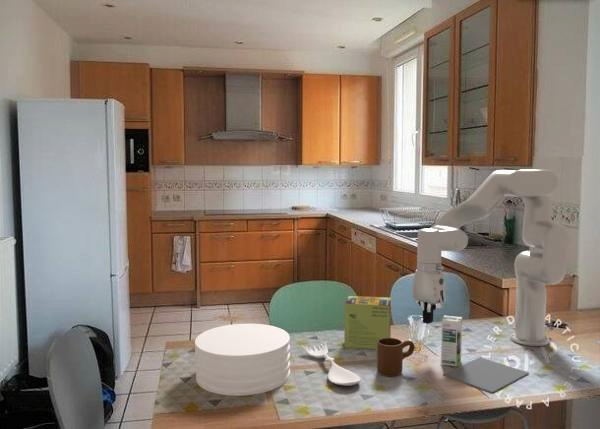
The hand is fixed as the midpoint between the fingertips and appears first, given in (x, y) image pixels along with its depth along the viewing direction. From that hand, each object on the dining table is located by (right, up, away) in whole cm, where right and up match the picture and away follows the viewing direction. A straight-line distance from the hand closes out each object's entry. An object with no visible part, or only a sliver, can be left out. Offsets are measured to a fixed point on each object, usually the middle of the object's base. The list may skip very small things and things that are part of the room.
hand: (427, 322), depth 170 cm
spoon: (-32, -13, -9) cm, 36 cm away
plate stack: (-59, -13, -13) cm, 61 cm away
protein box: (-18, -10, +12) cm, 24 cm away
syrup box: (+6, -12, -6) cm, 14 cm away
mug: (-12, -13, -12) cm, 21 cm away
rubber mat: (+14, -12, -15) cm, 24 cm away
